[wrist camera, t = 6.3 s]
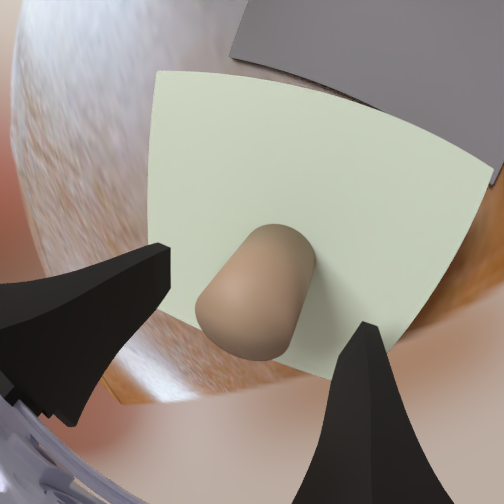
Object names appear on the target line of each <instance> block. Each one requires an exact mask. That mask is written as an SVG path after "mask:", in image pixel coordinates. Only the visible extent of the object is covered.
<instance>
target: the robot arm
mask: <svg viewBox="0 0 504 504" xmlns="http://www.w3.org/2000/svg"><path fill="white" fill-rule="evenodd" d="M170 289H171V247H168V246H166V245H163V244H161V243H159V242H157V243H153V244H150V245H147V246H144V247H141V248H139V249H136V250H133V251H131V252H128V253H125V254H122V255H120V256H117V257H114V258H112V259H109V260H106V261H104V262H101V263H98V264H95V265H92V266H89V267H86V268H83V269H80V270H77V271H73V272H70V273H66V274H62V275H58V276H54V277H49V278H44V279H38V280H34V281H27V282H19V283H7V284H0V504H106V503H105V502H103V501H102V500H100V499H98V498H97V497H95V496H94V495H92V494H91V493H89V492H88V491H87V490H85V489H84V488H82V487H81V486H80V485H78V484H77V483H75V482H74V481H73V480H74V479H75V478H74V476H75V477H76V478H77V479H79V480H80V481H81V482H82V483H84V484H85V485H86V486H87V487H89V488H90V489H91V490H93V491H94V492H95V493H97V494H98V495H100V496H101V497H102V498H104V499H105V500H107V501H108V502H110V503H111V504H148V503H147V502H145V501H143V500H141V499H140V498H138V497H136V496H134V495H132V494H131V493H129V492H128V491H126V490H125V489H123V488H122V487H120V486H119V485H117V484H115V483H114V482H112V481H111V480H110V479H108V478H107V477H105V476H104V475H103V474H101V473H100V472H98V471H97V470H96V469H95V468H93V467H92V466H91V465H89V464H88V463H87V462H86V461H84V460H83V459H82V458H81V457H79V456H78V455H77V454H76V453H75V452H73V451H72V450H71V449H70V448H69V447H68V446H66V445H65V444H64V443H63V442H62V441H61V440H60V439H59V438H58V437H57V436H56V435H55V434H53V432H52V431H51V430H49V429H48V428H47V427H46V426H45V424H43V422H42V421H41V420H40V419H39V418H38V416H39V415H40V414H41V413H43V414H44V415H45V416H46V417H47V418H50V417H51V416H52V415H53V414H54V415H55V416H56V417H57V418H58V419H59V420H61V421H62V422H63V423H64V424H65V425H66V426H68V427H74V426H76V425H77V422H78V420H79V418H80V416H81V413H82V411H83V409H84V407H85V405H86V403H87V401H88V399H89V397H90V395H91V394H92V391H93V390H94V388H95V386H96V385H97V383H98V381H99V380H100V378H101V377H102V375H103V373H104V372H105V370H106V369H107V367H108V366H109V364H110V363H111V361H112V360H113V359H114V357H115V356H116V354H117V353H118V352H119V350H120V349H121V348H122V347H123V346H124V344H125V343H126V342H127V341H128V340H129V339H130V338H131V337H132V336H133V334H134V333H135V332H136V331H137V330H138V329H139V328H140V327H141V326H142V325H143V323H144V322H145V321H146V320H147V319H148V318H149V317H150V316H151V315H152V314H153V312H154V311H155V310H156V309H157V308H158V306H159V305H160V304H161V302H162V301H163V299H164V298H165V296H166V295H167V294H168V292H169V291H170ZM39 444H40V445H41V446H42V447H43V448H44V449H45V450H46V451H45V450H44V449H42V448H41V447H39ZM72 474H73V475H74V476H73V475H72ZM292 504H454V502H453V501H452V500H451V498H450V497H449V495H448V494H447V492H446V491H445V490H444V488H443V487H442V485H441V483H440V482H439V480H438V478H437V476H436V475H435V473H434V471H433V469H432V468H431V466H430V464H429V462H428V460H427V458H426V456H425V454H424V452H423V450H422V448H421V446H420V444H419V442H418V439H417V437H416V435H415V432H414V430H413V428H412V425H411V423H410V421H409V418H408V416H407V413H406V410H405V408H404V405H403V402H402V399H401V396H400V394H399V391H398V388H397V385H396V382H395V379H394V375H393V372H392V369H391V366H390V363H389V360H388V357H387V353H386V350H385V347H384V343H383V340H382V337H381V334H380V331H379V328H378V326H376V325H373V324H370V323H367V322H364V321H362V322H361V323H360V325H359V327H358V328H357V330H356V331H355V333H354V334H353V336H352V337H351V339H350V340H349V341H348V343H347V344H346V346H345V347H344V349H343V350H342V351H341V353H340V354H339V356H338V359H337V363H336V366H335V369H334V373H333V377H332V380H331V385H330V391H329V396H328V401H327V406H326V411H325V417H324V421H323V426H322V430H321V434H320V438H319V442H318V445H317V448H316V450H315V453H314V456H313V458H312V461H311V463H310V466H309V469H308V471H307V473H306V475H305V477H304V480H303V482H302V484H301V486H300V488H299V490H298V492H297V494H296V496H295V498H294V500H293V502H292Z"/></svg>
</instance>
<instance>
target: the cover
mask: <svg viewBox="0 0 504 504" xmlns="http://www.w3.org/2000/svg"><path fill="white" fill-rule="evenodd" d="M493 171H494V169H493V168H491V167H490V166H488V165H487V164H485V163H484V162H482V161H481V160H479V159H477V158H476V157H474V156H473V155H471V154H469V153H467V152H466V151H464V150H462V149H461V148H459V147H457V146H455V145H453V144H451V143H450V142H448V141H446V140H444V139H442V138H440V137H438V136H436V135H434V134H432V133H430V132H428V131H426V130H424V129H422V128H420V127H417V126H415V125H413V124H411V123H408V122H406V121H404V120H401V119H399V118H397V117H394V116H392V115H389V114H387V113H384V112H381V111H379V110H376V109H373V108H371V107H368V106H365V105H362V104H359V103H356V102H353V101H350V100H347V99H343V98H340V97H337V96H333V95H330V94H326V93H323V92H319V91H315V90H311V89H307V88H303V87H298V86H294V85H289V84H285V83H279V82H274V81H269V80H263V79H257V78H250V77H243V76H236V75H227V74H217V73H205V72H188V71H157V74H156V81H155V89H154V97H153V106H152V117H151V128H150V142H149V161H148V245H150V244H153V243H157V242H159V243H161V244H163V245H166V246H168V247H171V289H170V291H169V292H168V294H167V295H166V296H165V298H164V299H163V301H162V302H161V304H160V305H159V306H158V308H157V309H159V310H161V311H163V312H165V313H167V314H169V315H171V316H173V317H175V318H177V319H179V320H181V321H183V322H185V323H188V324H190V325H192V326H194V327H196V328H198V329H200V330H202V331H203V332H204V333H205V335H206V336H207V337H208V338H209V339H210V340H211V341H212V342H213V343H214V344H216V345H217V346H218V347H220V348H221V349H223V350H224V351H226V352H228V353H230V354H232V355H234V356H237V357H239V358H243V359H246V360H252V361H268V360H274V361H276V362H279V363H282V364H284V365H287V366H290V367H293V368H295V369H298V370H301V371H304V372H307V373H310V374H313V375H316V376H319V377H322V378H325V379H328V380H332V377H333V373H334V369H335V366H336V363H337V359H338V356H339V354H340V353H341V351H342V350H343V349H344V347H345V346H346V344H347V343H348V341H349V340H350V339H351V337H352V336H353V334H354V333H355V331H356V330H357V328H358V327H359V325H360V323H361V322H362V321H364V322H367V323H370V324H373V325H376V326H378V328H379V331H380V334H381V337H382V340H383V343H384V347H385V350H386V353H388V352H389V351H390V349H391V348H392V347H393V346H394V345H395V343H396V342H397V341H398V340H399V338H400V337H401V336H402V334H403V333H404V332H405V331H406V329H407V328H408V327H409V325H410V324H411V323H412V321H413V320H414V319H415V317H416V316H417V314H418V313H419V312H420V310H421V309H422V307H423V306H424V304H425V303H426V302H427V300H428V299H429V297H430V296H431V294H432V293H433V291H434V290H435V288H436V286H437V285H438V283H439V282H440V280H441V278H442V277H443V275H444V274H445V272H446V270H447V269H448V267H449V265H450V263H451V262H452V260H453V258H454V256H455V255H456V253H457V251H458V249H459V247H460V245H461V243H462V242H463V240H464V238H465V236H466V234H467V232H468V230H469V228H470V226H471V224H472V221H473V219H474V217H475V215H476V213H477V211H478V208H479V206H480V204H481V201H482V199H483V197H484V194H485V192H486V189H487V187H488V184H489V182H490V179H491V176H492V173H493Z"/></svg>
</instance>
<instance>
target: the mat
mask: <svg viewBox="0 0 504 504" xmlns="http://www.w3.org/2000/svg"><path fill="white" fill-rule="evenodd" d="M229 57H231V58H235V59H239V60H244V61H248V62H252V63H256V64H260V65H264V66H268V67H271V68H275V69H278V70H281V71H285V72H288V73H291V74H294V75H297V76H300V77H303V78H306V79H309V80H312V81H314V82H317V83H320V84H322V85H325V86H328V87H330V88H333V89H335V90H337V91H340V92H342V93H345V94H347V95H349V96H351V97H354V98H356V99H358V100H360V101H362V102H365V103H367V104H369V105H371V106H373V107H375V108H377V109H379V110H381V111H383V112H385V113H387V114H389V115H392V116H394V117H397V118H399V119H401V120H404V121H406V122H408V123H411V124H413V125H415V126H417V127H420V128H422V129H424V130H426V131H428V132H430V133H432V134H434V135H436V136H438V137H440V138H442V139H444V140H446V141H448V142H450V143H451V144H453V145H455V146H457V147H459V148H461V149H462V150H464V151H466V152H467V153H469V154H471V155H473V156H474V157H476V158H477V159H479V160H481V161H482V162H484V163H485V164H487V165H488V166H490V167H491V168H493V169H494V171H493V173H492V176H491V179H490V182H489V183H490V184H492V185H493V183H494V181H495V179H496V177H497V175H498V173H499V171H500V169H501V167H502V165H503V162H504V0H249V1H248V4H247V7H246V9H245V12H244V14H243V17H242V20H241V23H240V25H239V28H238V31H237V34H236V37H235V39H234V42H233V45H232V48H231V51H230V54H229Z"/></svg>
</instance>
